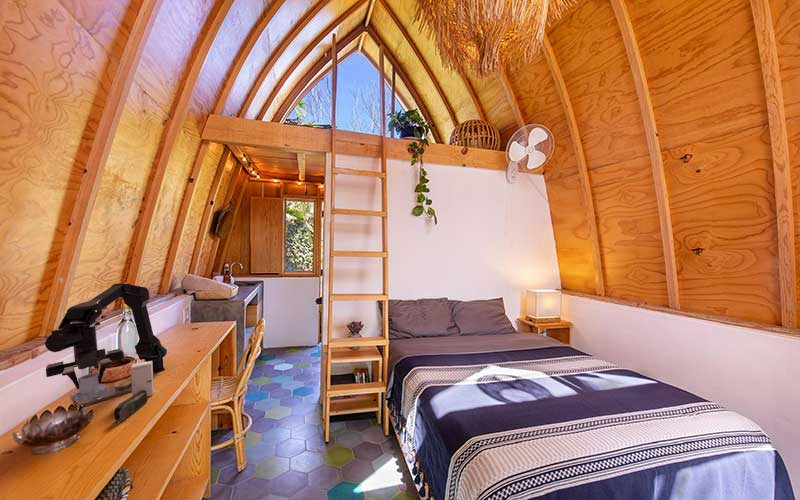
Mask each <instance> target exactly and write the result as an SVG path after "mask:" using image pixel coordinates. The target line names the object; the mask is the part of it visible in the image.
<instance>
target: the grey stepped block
mask: <svg viewBox="0 0 800 500" xmlns="http://www.w3.org/2000/svg"><path fill="white" fill-rule="evenodd" d="M77 380H78V383H79V389H78V390H75V391H74V392H73V393H71V394H69V395H70V396H69V398H70V399H69V400H70V402H75V403H77V402H78V401H81V400H88V399H90V398H93V397H94V398H95V397H98V395H101V394H104V393H105V391H108V386H109V385H108V384H103V383H100V384H99V380H98V372H95V373H88V374H85V375H82V376H79V377H78V378H77Z"/></svg>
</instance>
